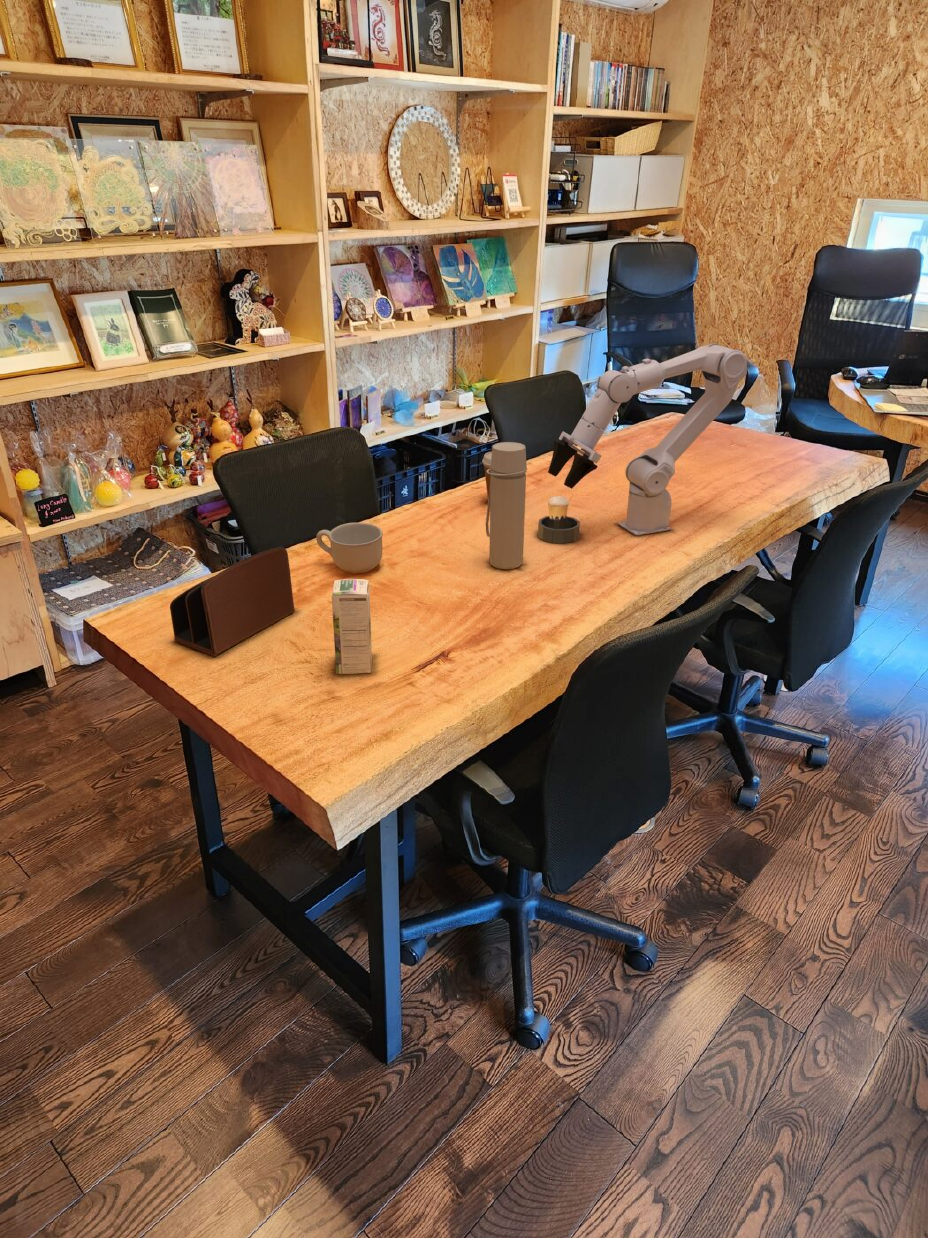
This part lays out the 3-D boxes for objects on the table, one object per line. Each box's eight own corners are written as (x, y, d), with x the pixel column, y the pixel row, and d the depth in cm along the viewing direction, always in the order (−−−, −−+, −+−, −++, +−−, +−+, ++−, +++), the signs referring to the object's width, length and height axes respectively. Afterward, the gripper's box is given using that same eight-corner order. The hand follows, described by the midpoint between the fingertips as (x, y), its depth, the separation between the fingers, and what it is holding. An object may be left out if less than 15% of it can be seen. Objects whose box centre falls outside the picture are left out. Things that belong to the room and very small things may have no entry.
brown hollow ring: (566, 526, 192) (567, 513, 190) (586, 539, 184) (587, 526, 183) (531, 531, 189) (531, 518, 187) (549, 545, 181) (550, 532, 180)
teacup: (393, 562, 173) (391, 527, 169) (366, 582, 164) (364, 545, 161) (337, 551, 178) (334, 516, 175) (308, 570, 170) (304, 534, 166)
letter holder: (295, 612, 153) (288, 541, 146) (215, 658, 138) (202, 581, 132) (256, 599, 158) (247, 530, 151) (174, 642, 143) (160, 568, 136)
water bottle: (531, 563, 173) (536, 446, 161) (507, 574, 168) (510, 454, 156) (498, 551, 179) (500, 437, 167) (473, 562, 173) (474, 445, 162)
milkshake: (569, 540, 184) (572, 497, 180) (545, 538, 185) (547, 495, 180) (571, 532, 188) (573, 490, 183) (547, 531, 189) (549, 489, 184)
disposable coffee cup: (526, 500, 207) (528, 453, 202) (507, 511, 200) (509, 463, 195) (494, 493, 212) (494, 447, 206) (474, 504, 205) (474, 457, 199)
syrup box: (338, 657, 138) (331, 578, 132) (373, 656, 139) (369, 577, 132) (336, 675, 133) (329, 594, 127) (372, 673, 134) (368, 593, 127)
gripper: (563, 407, 179) (531, 462, 183) (596, 426, 168) (561, 485, 171) (586, 420, 183) (554, 474, 187) (620, 440, 171) (585, 497, 175)
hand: (559, 480), depth 179 cm, fingers open, 7 cm apart
